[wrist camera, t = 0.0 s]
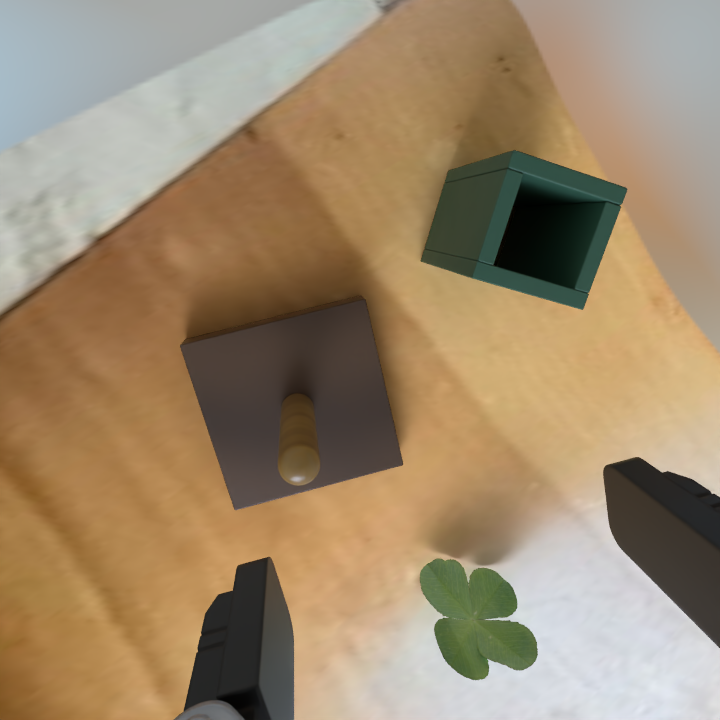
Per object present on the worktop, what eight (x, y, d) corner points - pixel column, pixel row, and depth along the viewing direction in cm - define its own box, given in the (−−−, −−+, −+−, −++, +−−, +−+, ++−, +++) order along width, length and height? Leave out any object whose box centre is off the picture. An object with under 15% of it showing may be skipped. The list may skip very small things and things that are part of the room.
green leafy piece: (430, 569, 41) (459, 528, 36) (517, 654, 38) (560, 621, 33) (367, 638, 37) (390, 601, 32) (459, 740, 34) (500, 716, 29)
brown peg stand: (184, 339, 30) (137, 391, 21) (361, 294, 30) (391, 327, 21) (237, 498, 32) (215, 606, 23) (398, 454, 33) (439, 543, 24)
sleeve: (420, 261, 30) (472, 278, 21) (447, 170, 29) (513, 149, 20) (502, 284, 31) (583, 310, 22) (531, 197, 30) (628, 188, 21)
